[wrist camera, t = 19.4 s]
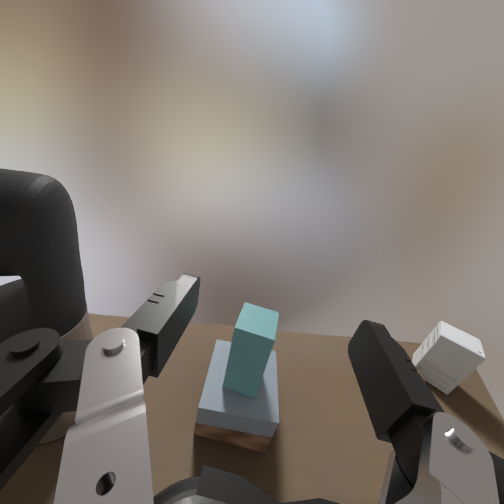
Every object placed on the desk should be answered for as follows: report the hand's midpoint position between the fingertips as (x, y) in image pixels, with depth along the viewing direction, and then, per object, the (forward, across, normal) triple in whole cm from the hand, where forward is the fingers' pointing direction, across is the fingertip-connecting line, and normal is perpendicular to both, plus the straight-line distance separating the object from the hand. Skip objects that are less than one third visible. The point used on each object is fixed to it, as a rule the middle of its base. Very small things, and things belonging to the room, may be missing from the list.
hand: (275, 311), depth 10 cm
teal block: (+12, -1, +24) cm, 27 cm away
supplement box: (+30, -46, +32) cm, 64 cm away
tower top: (+13, -1, +28) cm, 31 cm away
